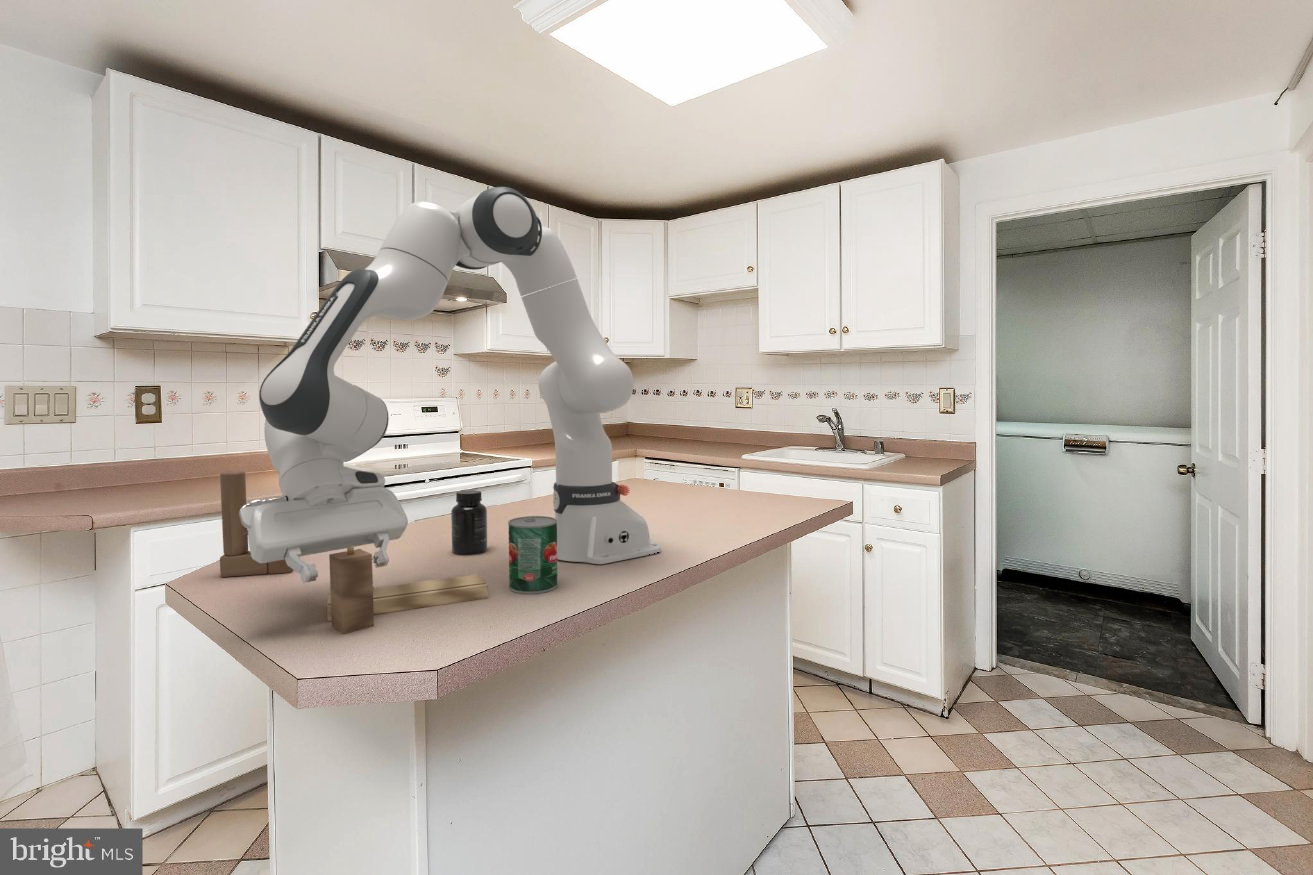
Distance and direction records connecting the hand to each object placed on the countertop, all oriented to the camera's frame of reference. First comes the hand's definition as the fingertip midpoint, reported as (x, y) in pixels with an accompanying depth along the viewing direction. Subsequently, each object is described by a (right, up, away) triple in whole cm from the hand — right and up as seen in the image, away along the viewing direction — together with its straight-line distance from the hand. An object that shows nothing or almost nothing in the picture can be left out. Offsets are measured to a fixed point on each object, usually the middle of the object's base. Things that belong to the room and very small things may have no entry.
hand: (348, 571), depth 85 cm
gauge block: (+1, -7, 0) cm, 7 cm away
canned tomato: (+22, -6, +17) cm, 29 cm away
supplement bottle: (+5, -5, +40) cm, 40 cm away
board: (+5, -7, +9) cm, 12 cm away
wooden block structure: (-28, -6, +24) cm, 37 cm away
